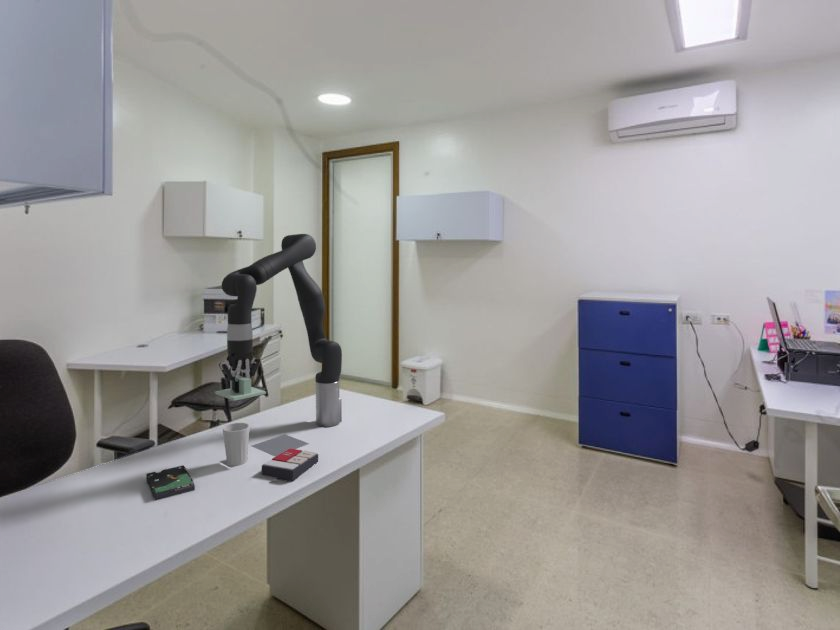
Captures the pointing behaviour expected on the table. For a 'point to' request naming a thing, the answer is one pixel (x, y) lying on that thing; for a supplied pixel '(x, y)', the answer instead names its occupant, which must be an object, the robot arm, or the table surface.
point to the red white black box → (289, 464)
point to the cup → (236, 443)
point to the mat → (279, 444)
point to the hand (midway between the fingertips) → (240, 391)
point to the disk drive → (170, 482)
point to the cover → (241, 390)
